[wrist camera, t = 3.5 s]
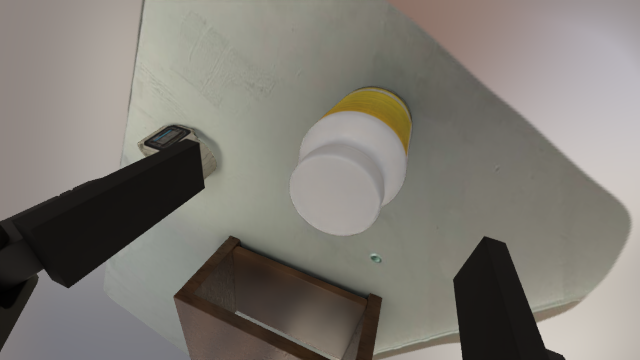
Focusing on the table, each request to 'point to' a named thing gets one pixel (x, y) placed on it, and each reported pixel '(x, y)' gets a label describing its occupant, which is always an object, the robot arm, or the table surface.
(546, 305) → the table surface
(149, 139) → the wristwatch
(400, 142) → the pill bottle
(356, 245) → the table surface
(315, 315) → the shelf
